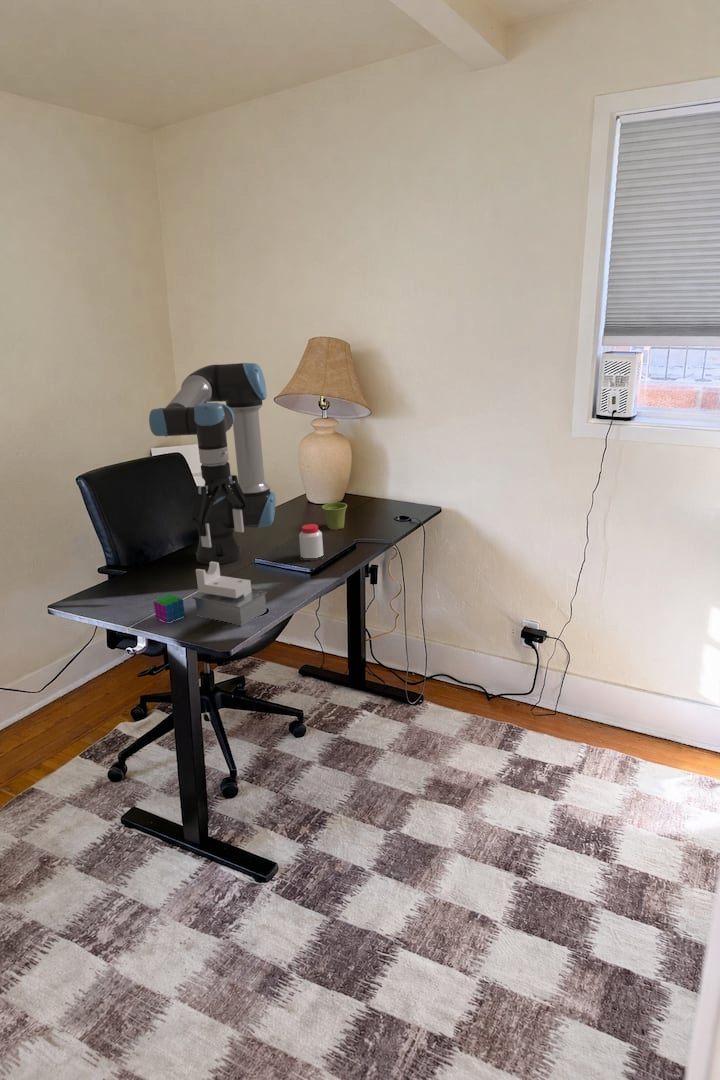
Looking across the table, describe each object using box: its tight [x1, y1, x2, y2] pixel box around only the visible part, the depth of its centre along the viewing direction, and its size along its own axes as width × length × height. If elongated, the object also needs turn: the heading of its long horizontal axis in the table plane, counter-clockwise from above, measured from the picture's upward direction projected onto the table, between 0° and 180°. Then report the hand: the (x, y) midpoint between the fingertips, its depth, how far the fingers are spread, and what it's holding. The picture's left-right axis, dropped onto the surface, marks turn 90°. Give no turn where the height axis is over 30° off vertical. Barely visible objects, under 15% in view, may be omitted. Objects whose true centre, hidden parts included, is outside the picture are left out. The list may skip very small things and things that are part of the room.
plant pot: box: [321, 502, 348, 531], centre depth 277 cm, size 9×9×9 cm
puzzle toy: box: [153, 594, 186, 622], centre depth 205 cm, size 6×6×6 cm
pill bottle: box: [298, 523, 324, 558], centre depth 246 cm, size 8×8×11 cm
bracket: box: [195, 561, 252, 598], centre depth 204 cm, size 13×7×8 cm, turn 63°
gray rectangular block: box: [192, 587, 268, 627], centre depth 206 cm, size 17×12×6 cm
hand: (223, 539), depth 200 cm, fingers open, 13 cm apart
